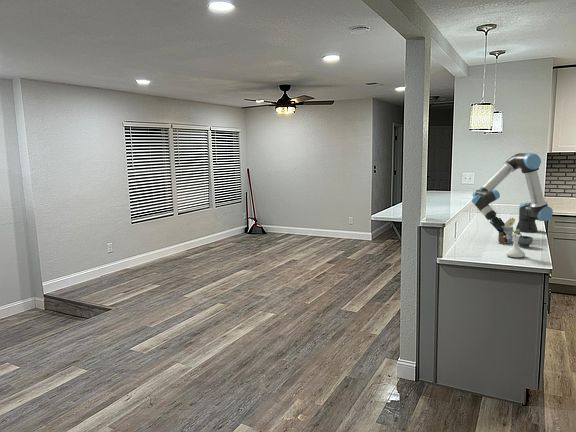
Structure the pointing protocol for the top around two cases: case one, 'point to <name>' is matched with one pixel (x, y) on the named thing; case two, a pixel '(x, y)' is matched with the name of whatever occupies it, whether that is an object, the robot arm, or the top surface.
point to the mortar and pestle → (524, 241)
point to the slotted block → (508, 233)
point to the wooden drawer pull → (502, 239)
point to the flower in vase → (515, 250)
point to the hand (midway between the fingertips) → (510, 238)
